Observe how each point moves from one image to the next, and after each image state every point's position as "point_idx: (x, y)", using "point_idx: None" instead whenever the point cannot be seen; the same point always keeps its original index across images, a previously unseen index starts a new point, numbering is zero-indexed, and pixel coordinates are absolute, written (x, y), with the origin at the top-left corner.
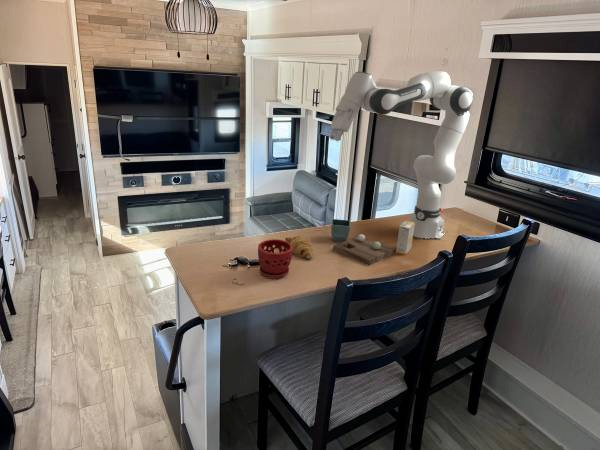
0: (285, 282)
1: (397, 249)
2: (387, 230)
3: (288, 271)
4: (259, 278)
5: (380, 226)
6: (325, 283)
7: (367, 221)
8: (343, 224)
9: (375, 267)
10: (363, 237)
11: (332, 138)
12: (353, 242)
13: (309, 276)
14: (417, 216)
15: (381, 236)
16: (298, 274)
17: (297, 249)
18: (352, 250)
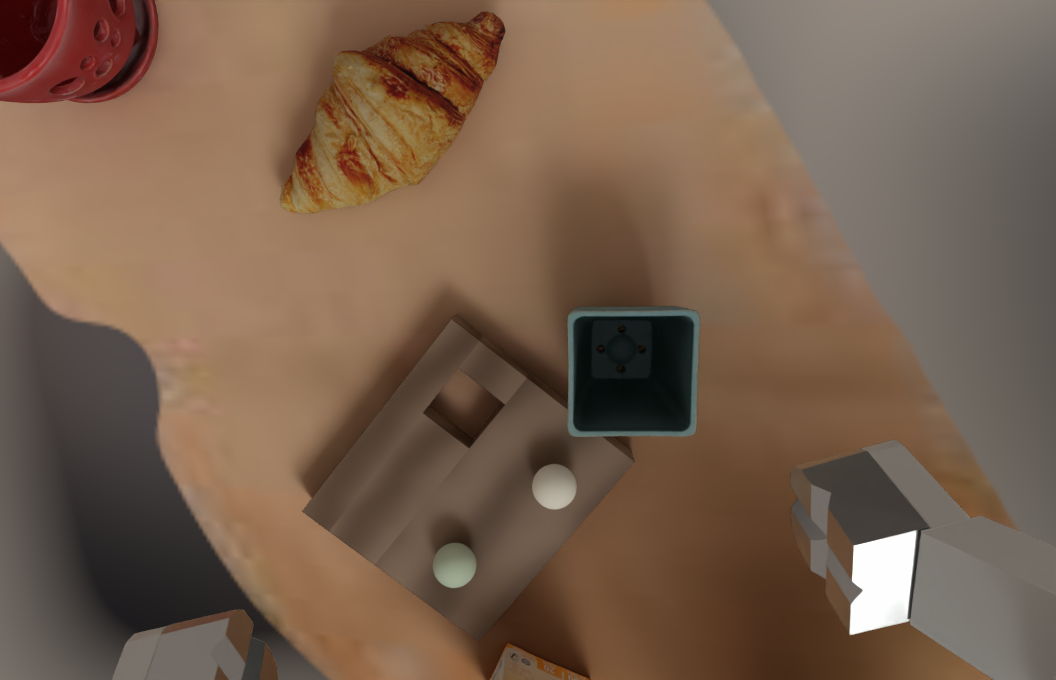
0: None
1: (503, 657)
2: (840, 633)
3: (74, 100)
4: None
5: None
6: (66, 293)
7: None
8: (683, 386)
9: (300, 526)
10: (537, 499)
11: (814, 525)
12: (524, 434)
13: (113, 211)
14: None
15: (731, 590)
16: (117, 154)
17: (315, 114)
18: (404, 427)
